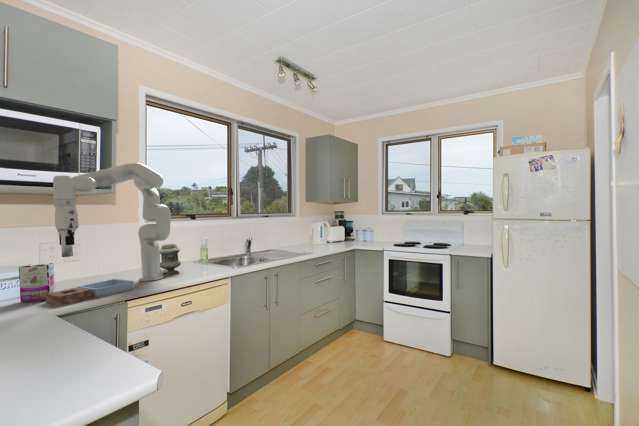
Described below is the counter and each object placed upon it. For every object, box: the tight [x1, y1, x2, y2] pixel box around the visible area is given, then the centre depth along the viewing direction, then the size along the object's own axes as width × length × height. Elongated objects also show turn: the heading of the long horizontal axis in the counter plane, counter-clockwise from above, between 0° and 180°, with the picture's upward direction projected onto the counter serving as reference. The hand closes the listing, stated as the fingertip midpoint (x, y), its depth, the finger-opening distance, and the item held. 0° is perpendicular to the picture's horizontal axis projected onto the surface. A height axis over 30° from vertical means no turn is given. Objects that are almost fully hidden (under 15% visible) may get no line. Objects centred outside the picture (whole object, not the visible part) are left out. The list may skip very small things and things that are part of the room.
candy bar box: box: [18, 262, 56, 303], centre depth 145 cm, size 11×5×16 cm, turn 105°
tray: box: [76, 278, 135, 299], centre depth 157 cm, size 18×16×4 cm
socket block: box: [45, 286, 93, 307], centre depth 143 cm, size 12×12×4 cm
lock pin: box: [60, 229, 74, 258], centre depth 143 cm, size 4×4×12 cm
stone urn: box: [160, 243, 182, 276], centre depth 201 cm, size 12×12×18 cm
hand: (67, 244), depth 143 cm, fingers closed on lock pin, 4 cm apart
